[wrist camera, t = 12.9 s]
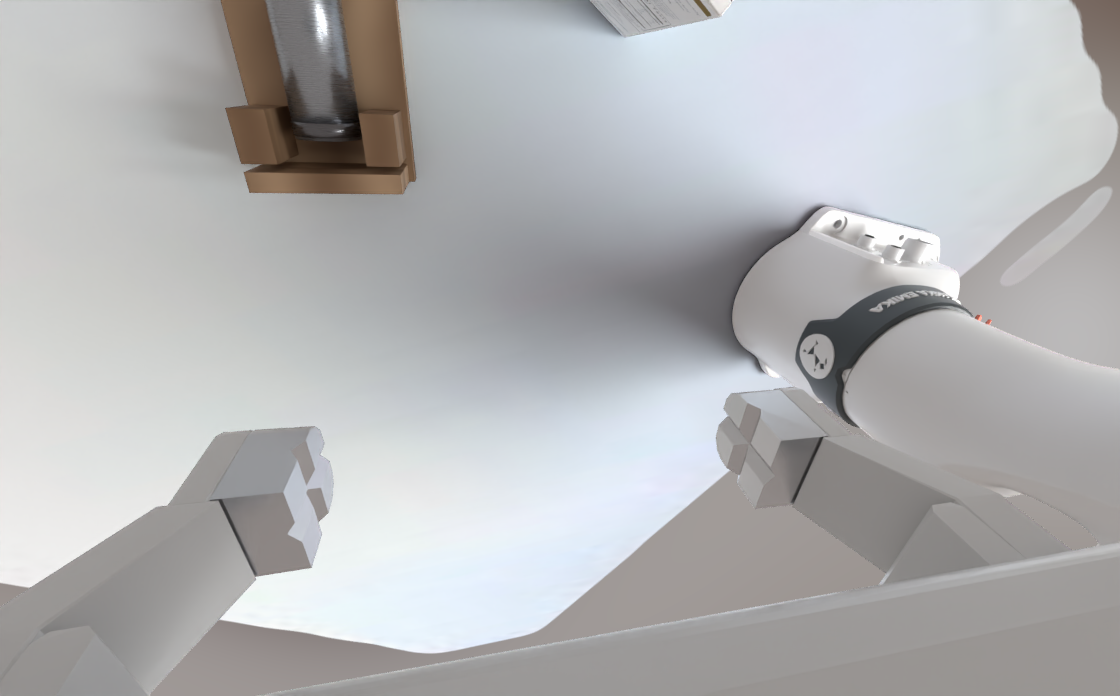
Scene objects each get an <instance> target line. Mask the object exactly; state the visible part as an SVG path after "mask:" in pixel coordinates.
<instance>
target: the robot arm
mask: <svg viewBox="0 0 1120 696" xmlns="http://www.w3.org/2000/svg"><path fill="white" fill-rule="evenodd" d="M835 221H836V223H835ZM834 223H835V225H834ZM833 225H834V226H833ZM939 255H940V240H939V237H938V236H936V235H934V234H932V233H929V232H927V231H923V230H919V229H915V228H911V227H907V226H904V225H900V224H896V223H892V222H888V221H884V220H880V219H876V218H872V217H868V216H865V215H861V214H857V213H853V212H849V211H845V210H841V209H837V208H833V207H828V206H827V207H823V208H821V209H819V210H818V211H816V212H815V213H814V214H813V215H812V216H811V217H810V218H809V219H808V220H807V221H806V222H805V224H804V225H803V226H802V227H801V228H800V229H799V231H797V232H796V233H795V234H793V235H792V236H790V237H789V238H787V239H786V240H784V241H782V242H781V243H779V244H777V245H776V246H775V247H773V248H772V249H771V250H769V251H768V252H767V253H766V254H765V255H763V256H762V257H761V258H760V259H759V260H758V261H757V263H756V264H755V265H754V266H753V267H752V268H751V270H750V271H749V272H748V274H747V275H746V277H745V279H744V280H743V282H742V284H741V286H740V288H739V290H738V292H737V295H736V298H735V301H734V306H733V312H732V323H733V329H734V333H735V335H736V337H737V339H738V341H739V342H740V344H741V345H742V346H743V347H744V348H745V349H746V350H748V351H749V352H751V353H752V354H753V355H755V356H756V357H757V358H758V361H759V363H760V366H761V368H762V370H763V371H764V372H765V373H766V374H767V375H769V376H770V377H773V378H776V377H782V378H783V379H785V380H786V381H787V382H789V383H790V384H791V385H793V386H794V387H788V388H779V389H774V390H764V391H753V392H741V393H731V394H730V395H729V397H728V398H727V399H726V402H725V405H724V411H725V412H726V414H727V417H726V418H725V419H724V420H723V421H722V422H721V423H720V424H719V426H718V430H717V434H716V444H717V451H718V453H719V456H720V459H721V460H722V462H723V463H724V465H725V466H726V468H728V469H729V470H731V471H733V472H735V473H736V474H738V483H737V484H738V485H739V487H740V488H741V489H742V491H743V492H744V494H745V495H746V497H747V498H748V500H749V501H750V503H751V504H752V505H753V507H754V508H755V509H757V508H767V507H776V506H786V505H793V508H795V509H796V510H797V511H799V512H800V513H802V514H803V515H805V516H806V517H807V518H809V519H810V520H812V521H813V522H814V523H816V524H817V525H819V526H820V527H821V528H823V529H824V530H826V531H827V532H829V533H830V534H831V535H833V536H834V537H835V538H837V539H838V540H840V541H841V542H842V543H844V544H845V545H847V546H848V547H849V548H851V549H852V550H854V551H855V552H857V553H858V554H859V555H861V556H862V557H864V558H865V559H866V560H868V561H870V562H871V563H872V564H873V565H875V566H876V567H878V568H879V569H880V570H882V571H883V572H885V573H886V575H885V576H884V578H883V579H882V581H881V582H880V584H879V585H876V586H870V587H865V588H859V589H853V590H848V591H842V592H837V593H831V594H826V595H819V596H814V597H808V598H803V599H797V600H792V601H786V602H780V603H775V604H770V605H764V606H758V607H752V608H747V609H741V610H736V611H730V612H724V613H719V614H713V615H708V616H702V617H696V618H691V619H685V620H679V621H674V622H668V623H663V624H658V625H652V626H646V627H640V628H635V629H629V630H623V631H618V632H612V633H607V634H601V635H595V636H591V637H585V638H579V639H573V640H568V641H563V642H556V643H551V644H545V645H539V646H534V647H528V648H523V649H517V650H511V651H506V652H500V653H495V654H489V655H483V656H478V657H472V658H467V659H461V660H456V661H450V662H444V663H438V664H433V665H427V666H422V667H416V668H410V669H405V670H399V671H393V672H388V673H382V674H377V675H371V676H365V677H360V678H354V679H348V680H343V681H337V682H332V683H326V684H321V685H315V686H309V687H303V688H298V689H292V690H287V691H281V692H275V693H270V694H264V695H259V696H1120V369H1115V368H1109V367H1104V366H1100V365H1095V364H1091V363H1086V362H1083V361H1080V360H1077V359H1073V358H1070V357H1067V356H1064V355H1061V354H1059V353H1056V352H1053V351H1051V350H1048V349H1046V348H1043V347H1040V346H1038V345H1035V344H1033V343H1030V342H1028V341H1025V340H1023V339H1021V338H1018V337H1016V336H1013V335H1011V334H1008V333H1006V332H1004V331H1002V330H999V329H997V328H995V327H992V326H990V325H989V324H990V322H991V320H988V321H987V322H986V323H984V322H981V317H982V316H981V315H977V316H976V317H975V318H974V317H973V315H972V314H971V313H970V312H969V311H968V310H967V309H966V308H964V307H963V306H962V305H961V302H959V301H958V300H957V297H958V293H959V286H960V282H959V276H958V274H957V272H956V270H954V269H953V268H951V267H948V266H946V265H944V264H941V263H939V262H938V261H939ZM817 402H819V403H822V402H823V403H824V404H825V405H826V406H827V408H828V409H829V410H830V411H831V412H833V413H834V414H835V415H837V416H838V417H841V418H842V419H843V420H844V421H846V422H847V423H848V424H850V425H852V426H855V427H858V428H862V430H864V431H865V432H866V433H867V434H868V435H869V436H870V437H871V438H873V439H874V440H873V439H870V438H868V437H866V436H864V435H861V434H852V433H851V432H850V431H848V429H846V428H845V427H844V426H843V425H842V424H841V423H840V422H839V421H838V420H836V419H835V418H834V417H833V416H832V415H831V414H830V413H829V412H827V411H826V410H825V409H824V408H823V407H822V406H821V405H819V404H818V403H817ZM323 446H324V440H323V437H322V434H321V431H320V429H318V428H317V427H315V426H311V427H294V428H278V429H261V430H254V431H252V430H249V431H234V432H223V433H221V434H219V435H217V436H216V437H215V438H214V439H213V441H212V442H211V444H210V445H209V447H208V448H207V449H206V451H205V452H204V454H203V455H202V457H201V458H200V460H199V461H198V462H197V464H196V465H195V467H194V468H193V470H192V471H191V473H190V474H189V476H188V477H187V478H186V480H185V481H184V483H183V484H182V486H181V487H180V489H179V490H178V491H177V493H176V494H175V496H174V497H173V499H172V500H171V502H170V503H169V504H168V506H160V507H156V508H154V509H153V510H151V511H149V512H148V513H146V514H145V515H143V516H142V517H140V518H139V519H137V520H135V521H134V522H132V523H131V524H129V525H128V526H126V527H124V528H123V529H121V530H120V531H118V532H117V533H115V534H114V535H112V536H110V537H109V538H107V539H106V540H104V541H103V542H101V543H99V544H98V545H96V546H95V547H93V548H92V549H90V550H89V551H87V552H85V553H84V554H82V555H81V556H79V557H78V558H76V559H74V560H73V561H71V562H70V563H68V564H67V565H65V566H63V567H62V568H60V569H59V570H57V571H56V572H54V573H53V574H51V575H49V576H48V577H46V578H45V579H43V580H42V581H40V582H38V583H37V584H35V585H34V586H32V587H31V588H29V589H28V590H26V591H25V592H23V593H22V594H20V595H18V596H17V597H15V598H14V599H12V600H10V601H9V602H7V603H6V604H4V605H3V606H1V607H0V696H151V695H150V693H151V692H152V691H153V690H154V689H155V688H156V687H157V686H158V684H159V683H160V682H161V681H162V680H163V679H164V678H165V677H166V676H167V675H168V674H169V673H170V672H171V670H172V669H173V668H174V667H175V666H176V665H177V664H178V663H179V662H180V661H181V660H182V658H184V657H185V655H186V654H187V653H188V652H189V651H190V650H191V649H192V648H193V647H194V646H195V645H196V644H197V643H198V641H199V640H200V639H201V638H202V637H203V636H204V635H205V634H206V633H207V631H209V630H210V629H211V627H212V626H213V625H214V624H215V623H216V622H217V621H218V620H219V619H220V618H221V617H222V616H223V615H224V614H225V612H226V611H227V610H228V609H229V608H230V607H231V606H232V605H233V604H234V603H235V602H236V601H237V600H238V598H239V597H240V596H241V595H242V594H243V593H244V592H245V591H246V590H247V589H248V588H249V587H250V586H251V585H252V583H253V582H254V581H255V580H256V578H255V577H256V576H263V575H269V574H275V573H282V572H288V571H294V570H300V569H307V568H312V565H313V562H314V558H315V555H316V552H317V549H318V545H319V542H320V539H321V536H322V532H321V529H320V526H319V523H318V522H319V521H320V520H321V519H322V518H323V517H324V516H325V515H327V514H328V513H329V509H330V505H331V502H332V496H333V485H334V483H333V473H332V468H331V465H330V461H328V460H327V459H325V458H324V457H323V456H321V455H320V454H321V451H322V449H323ZM1021 494H1024V495H1027V496H1029V497H1032V498H1034V499H1036V500H1038V501H1040V502H1042V503H1044V504H1047V505H1048V506H1050V507H1052V508H1054V509H1056V510H1058V511H1060V512H1061V513H1063V514H1065V515H1066V516H1068V517H1070V518H1071V519H1073V520H1074V521H1076V522H1077V523H1079V524H1080V525H1082V526H1083V527H1084V528H1085V529H1086V530H1087V531H1088V532H1089V533H1090V534H1092V536H1093V537H1094V538H1095V539H1096V540H1097V542H1098V543H1097V545H1096V546H1095V547H1089V548H1083V549H1078V550H1072V549H1070V548H1069V547H1068V546H1066V545H1065V544H1064V543H1063V542H1061V541H1060V540H1059V539H1057V538H1056V537H1055V536H1053V535H1052V534H1051V533H1050V532H1048V531H1047V530H1046V529H1044V528H1043V527H1042V526H1040V525H1039V524H1038V523H1037V522H1035V521H1034V520H1033V519H1031V518H1030V517H1029V516H1028V515H1026V514H1025V513H1024V512H1022V511H1021V510H1020V509H1018V508H1017V507H1016V506H1015V505H1013V504H1012V503H1011V502H1009V501H1008V500H1007V499H1005V498H1006V497H1011V496H1016V495H1021Z"/></svg>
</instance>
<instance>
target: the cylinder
mask: <svg viewBox="0 0 1120 696" xmlns="http://www.w3.org/2000/svg"><path fill="white" fill-rule="evenodd" d="M265 4H266V9H267V13H268V18H269V22H270V26H271V31H272V35H273V40H274V44H275V49H276V53H277V58H278V62H279V67H280V71H281V75H282V80H283V84H284V89H285V93H286V98H287V102H288V107H289V111H290V116H291V125H292V129H293V134H294V135H295V138H296V139H299V140H305V141H320V142H343V141H356V140H361V139H362V133H361V126H360V120H359V111H358V105H357V99H356V92H355V86H354V79H353V73H352V67H351V60H350V54H349V47H348V41H347V35H346V28H345V22H344V15H343V9H342V3H341V0H265Z"/></svg>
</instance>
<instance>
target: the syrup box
mask: <svg viewBox="0 0 1120 696" xmlns="http://www.w3.org/2000/svg"><path fill="white" fill-rule="evenodd" d="M590 1H591V3H592V4H593V5H594V6H595V7H596V8H597V9H598V10H599V11H600V12H601V13H602V14H603V15H604V16H605V17H606V19H607V20H608V21H609V22H610V23H611V24H612V25H613V26H614V27H615V28H616V29H617V30H618V31H619V33H620V34H621V35H622V36H623V37H630V36H634V35H639V34H644V33H648V32H653V31H658V30H662V29H666V28H671V27H676V26H681V25H685V24H690V23H694V22H699V21H704V20H708V19H713V18H718V17H721V16H722V15H723V14H724V12H725V11H726V10H727V8H728V7H729V6H730V5H731V3H732V2H733V0H590Z"/></svg>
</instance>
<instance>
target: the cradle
mask: <svg viewBox="0 0 1120 696" xmlns="http://www.w3.org/2000/svg"><path fill="white" fill-rule="evenodd" d="M221 3H222V7H223V11H224V15H225V19H226V22H227V26H228V30H229V34H230V38H231V41H232V45H233V49H234V53H235V57H236V60H237V64H238V68H239V72H240V76H241V79H242V83H243V87H244V91H245V94H246V98H247V102H248V105H246V106H238V107H230V108H225V109H226V112H227V116H228V119H229V122H230V126H231V129H232V133H233V136H234V140H235V143H236V147H237V150H238V154H239V157H240V161H241V164H262V165H260V166H258V167H255V168H253V169H251V170H248V171H246V172H244V175H245V178H246V182H247V185H248V189H249V192H250V193H329V194H403V193H404V191H405V189H406V187H407V185H408V183H409V182H415V180H416V173H415V163H414V154H413V144H412V135H411V125H410V116H409V106H408V97H407V88H406V78H405V69H404V59H403V50H402V40H401V31H400V22H399V12H398V3H397V0H341V3H342V9H343V15H344V22H345V28H346V35H347V41H348V47H349V54H350V60H351V67H352V73H353V79H354V86H355V92H356V99H357V105H358V111H359V120H360V126H361V133H362V139H361V140H356V141H343V142H320V141H305V140H299V139H296V138H295V135H294V134H293V129H292V125H291V116H290V111H289V107H288V102H287V98H286V93H285V89H284V84H283V80H282V75H281V71H280V67H279V62H278V58H277V53H276V49H275V44H274V40H273V35H272V31H271V26H270V22H269V18H268V13H267V9H266V4H265V0H221Z"/></svg>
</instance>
